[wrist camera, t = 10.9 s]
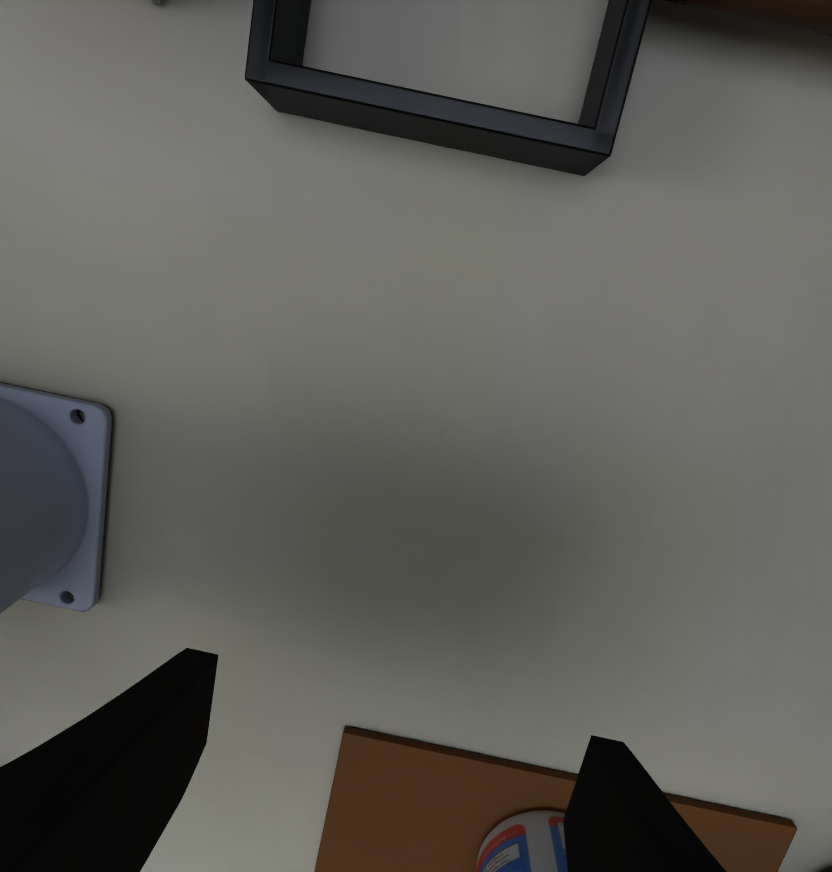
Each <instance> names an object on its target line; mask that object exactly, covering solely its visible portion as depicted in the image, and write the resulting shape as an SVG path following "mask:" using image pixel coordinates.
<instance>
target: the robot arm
mask: <svg viewBox="0 0 832 872" xmlns="http://www.w3.org/2000/svg"><path fill="white" fill-rule="evenodd" d="M78 409H79V410H81V411H82V412H83V413H84V415H85V420H84V421H82V420H80V419H79V418H78V417H77V410H78ZM111 424H112V418H111V414H110V412H109V410H108V409H107V408H106V407H105V406H103V405H101V404H98V403H94V402H89V401H84V400H79V399H75V398H70V397H65V396H60V395H56V394H51V393H46V392H41V391H37V390H32V389H27V388H22V387H18V386H13V385H8V384H3V383H0V613H1V612H3V611H4V610H5V609H7V608H8V607H10V606H11V605H12V604H14V603H15V602H16V601H18V600H19V599H23V600H28V601H33V602H38V603H42V604H47V605H52V606H57V607H61V608H66V609H71V610H75V611H81V612H86V611H88V610H90V609H91V608H92V607H93V606H94V605H95V604H96V603H97V602H98V599H99V587H100V573H101V560H102V546H103V532H104V519H105V505H106V492H107V478H108V465H109V451H110V438H111ZM67 591H68V592H70V593H71V594H72V595H73V597H74V598H71V597H69V596H68V595H67ZM217 661H218V655H217V654H213V653H208V652H203V651H199V650H194V649H189V648H186V649H185V650H183V651H181V652H180V653H178V654H177V655H176V656H174V657H173V658H171V659H170V660H168V661H167V662H166V663H164V664H163V665H161V666H160V667H159V668H157V669H156V670H154V671H153V672H152V673H150V674H149V675H147V676H146V677H145V678H143V679H142V680H140V681H139V682H137V683H136V684H135V685H133V686H132V687H130V688H129V689H127V690H126V691H125V692H123V693H122V694H120V695H119V696H117V697H116V698H114V699H113V700H111V701H110V702H108V703H107V704H105V705H104V706H102V707H101V708H99V709H98V710H96V711H95V712H93V713H92V714H90V715H88V716H87V717H85V718H84V719H82V720H81V721H79V722H77V723H76V724H74V725H72V726H71V727H69V728H67V729H66V730H64V731H63V732H61V733H59V734H58V735H56V736H54V737H53V738H51V739H49V740H48V741H46V742H44V743H43V744H41V745H39V746H38V747H36V748H34V749H33V750H31V751H29V752H27V753H25V754H24V755H22V756H20V757H18V758H17V759H15V760H13V761H11V762H9V763H7V764H5V765H4V766H2V767H0V872H140V871H141V869H142V867H143V865H144V864H145V862H146V860H147V858H148V857H149V855H150V853H151V852H152V850H153V848H154V846H155V845H156V843H157V841H158V840H159V838H160V836H161V834H162V833H163V831H164V829H165V827H166V826H167V824H168V822H169V820H170V819H171V817H172V815H173V813H174V812H175V810H176V808H177V806H178V804H179V803H180V801H181V799H182V797H183V795H184V793H185V791H186V788H187V786H188V784H189V782H190V780H191V777H192V775H193V773H194V771H195V768H196V766H197V764H198V762H199V759H200V757H201V755H202V752H203V750H204V748H205V745H206V742H207V735H208V728H209V720H210V713H211V705H212V698H213V691H214V683H215V676H216V668H217ZM563 828H564V839H565V851H566V861H567V870H568V872H726V870H725V869H724V868H723V867H722V866H721V864H720V863H719V862H718V861H717V860H716V858H715V857H714V856H713V855H712V854H711V852H710V851H709V850H708V849H707V848H706V846H705V845H704V844H703V843H702V841H701V840H700V839H699V838H698V837H697V835H696V834H695V833H694V832H693V830H692V829H691V828H690V827H689V825H688V824H687V823H686V822H685V820H684V819H683V818H682V816H681V815H680V814H679V813H678V811H677V810H676V809H675V808H674V806H673V805H672V804H671V802H670V801H669V800H668V799H667V797H666V796H665V795H664V793H663V792H662V791H661V789H660V788H659V787H658V786H657V784H656V783H655V782H654V780H653V779H652V778H651V776H650V775H649V774H648V773H647V771H646V770H645V769H644V767H643V766H642V765H641V763H640V762H639V761H638V760H637V758H636V757H635V756H634V755H633V753H632V752H631V751H630V750H629V748H628V747H627V746H626V745H625V744H624V742H620V741H616V740H611V739H606V738H602V737H597V736H593V735H591V738H590V741H589V744H588V747H587V750H586V753H585V756H584V759H583V762H582V765H581V768H580V771H579V774H578V777H577V780H576V783H575V786H574V789H573V792H572V795H571V798H570V801H569V804H568V807H567V810H566V813H565V816H564V819H563Z"/></svg>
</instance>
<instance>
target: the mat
mask: <svg viewBox="0 0 832 872" xmlns="http://www.w3.org/2000/svg"><path fill="white" fill-rule="evenodd" d="M577 777H578V775H575V774H570V773H565V772H560V771H556V770H551V769H546V768H541V767H537V766H532V765H527V764H522V763H518V762H513V761H508V760H503V759H499V758H494V757H489V756H485V755H480V754H475V753H470V752H466V751H461V750H456V749H451V748H447V747H442V746H437V745H432V744H428V743H423V742H418V741H413V740H409V739H404V738H399V737H394V736H390V735H385V734H380V733H375V732H371V731H366V730H361V729H356V728H352V727H347V726H345V727H344V732H343V736H342V741H341V746H340V751H339V756H338V761H337V766H336V771H335V775H334V780H333V785H332V790H331V795H330V800H329V805H328V810H327V814H326V819H325V824H324V829H323V834H322V839H321V844H320V848H319V853H318V858H317V863H316V868H315V872H477V859H478V854H479V851H480V848H481V846H482V844H483V842H484V840H485V838H486V837H487V836H488V834H489V833H490V832H491V831H492V830H493V829H494V828H495V827H496V826H497V825H499V824H500V823H501V822H503V821H504V820H506V819H508V818H510V817H512V816H515V815H517V814H521V813H525V812H530V811H539V810H546V811H556V812H561V813H564V814H565V813H566V810H567V807H568V804H569V801H570V798H571V795H572V792H573V789H574V786H575V783H576V780H577ZM664 795H665V796H666V797H667V799H668V800H669V801H670V802H671V804H672V805H673V806H674V808H675V809H676V810H677V811H678V813H679V814H680V815H681V816H682V818H683V819H684V820H685V822H686V823H687V824H688V825H689V827H690V828H691V829H692V830H693V832H694V833H695V834H696V835H697V837H698V838H699V839H700V840H701V841H702V843H703V844H704V845H705V846H706V848H707V849H708V850H709V851H710V852H711V854H712V855H713V856H714V857H715V858H716V860H717V861H718V862H719V863H720V864H721V866H722V867H723V868H724V869H725V870H726V872H778V869H779V867H780V865H781V863H782V861H783V859H784V856H785V854H786V852H787V850H788V848H789V846H790V843H791V841H792V839H793V837H794V835H795V833H796V831H797V827H796V826H795V824H794V823H793V821H792V820H788V819H783V818H779V817H774V816H769V815H764V814H760V813H755V812H750V811H745V810H741V809H736V808H731V807H726V806H722V805H717V804H712V803H707V802H703V801H698V800H693V799H688V798H684V797H679V796H674V795H669V794H665V793H664Z"/></svg>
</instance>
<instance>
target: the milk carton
mask: <svg viewBox="0 0 832 872" xmlns="http://www.w3.org/2000/svg"><path fill="white" fill-rule="evenodd" d="M149 1H150V2H152V3H153V4H155V5H158V4H159V3H160V1H161V0H149Z"/></svg>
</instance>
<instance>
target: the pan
mask: <svg viewBox="0 0 832 872" xmlns="http://www.w3.org/2000/svg"><path fill="white" fill-rule="evenodd" d="M662 1H667V2H672V3H676V4H681V5H686V6H691V7H695V8H700V9H705V10H710V11H714V12H719V13H724V14H729V15H733V16H738V17H743V18H748V19H752V20H757V21H762V22H767V23H772V24H776V25H781V26H786V27H791V28H795V29H800V30H805V31H810V32H814V33H819V34H824V35H829V36H832V0H662ZM310 2H311V0H254V2H253V10H252V19H251V28H250V36H249V45H248V54H247V62H246V71H245V80H246V81H247V82H248V83H249V84H250V85H251V86H252V87H253V88H254V89H255V90H256V91H257V92H258V93H259V94H260V95H261V96H262V97H263V98H264V99H265V100H266V101H267V102H268V103H269V104H270V105H271V106H272V107H273V108H274V109H275V110H276V111H278V112H283V113H287V114H292V115H297V116H302V117H307V118H311V119H316V120H321V121H326V122H330V123H335V124H340V125H345V126H349V127H354V128H359V129H364V130H368V131H373V132H378V133H383V134H387V135H392V136H397V137H402V138H407V139H411V140H416V141H421V142H426V143H430V144H435V145H440V146H445V147H449V148H454V149H459V150H464V151H468V152H473V153H478V154H483V155H487V156H492V157H497V158H502V159H506V160H511V161H516V162H521V163H525V164H530V165H535V166H540V167H544V168H549V169H554V170H559V171H563V172H568V173H573V174H578V175H582V176H585V175H586V174H588V173H589V172H590V171H592V170H593V169H594V168H595V167H597V166H598V165H599V164H601V163H602V162H603V161H604V160H606V159H607V158H608V157H610V155H611V153H612V149H613V145H614V142H615V138H616V134H617V130H618V127H619V123H620V119H621V115H622V111H623V108H624V104H625V100H626V96H627V93H628V89H629V85H630V81H631V77H632V74H633V70H634V66H635V62H636V59H637V55H638V51H639V47H640V43H641V40H642V36H643V32H644V28H645V25H646V21H647V17H648V13H649V9H650V6H651V2H652V0H609V3H608V7H607V11H606V15H605V19H604V23H603V27H602V31H601V35H600V39H599V43H598V47H597V51H596V55H595V59H594V63H593V67H592V71H591V75H590V79H589V83H588V87H587V91H586V95H585V99H584V103H583V108H582V112H581V116H580V120H579V124H575V123H570V122H566V121H561V120H556V119H551V118H546V117H542V116H537V115H532V114H527V113H523V112H518V111H513V110H508V109H504V108H499V107H494V106H489V105H485V104H480V103H475V102H470V101H466V100H461V99H456V98H451V97H447V96H442V95H437V94H432V93H428V92H423V91H418V90H413V89H409V88H404V87H399V86H394V85H390V84H385V83H380V82H375V81H371V80H366V79H361V78H356V77H352V76H347V75H342V74H337V73H333V72H328V71H323V70H318V69H314V68H309V67H304V66H302V60H303V53H304V46H305V38H306V31H307V24H308V16H309V9H310Z"/></svg>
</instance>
